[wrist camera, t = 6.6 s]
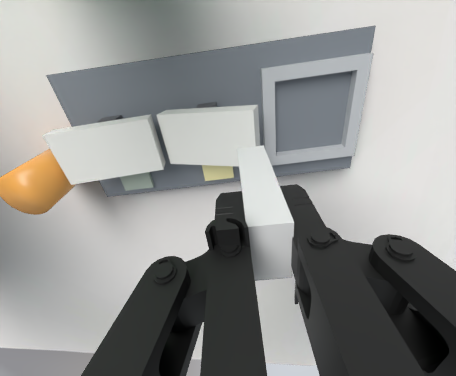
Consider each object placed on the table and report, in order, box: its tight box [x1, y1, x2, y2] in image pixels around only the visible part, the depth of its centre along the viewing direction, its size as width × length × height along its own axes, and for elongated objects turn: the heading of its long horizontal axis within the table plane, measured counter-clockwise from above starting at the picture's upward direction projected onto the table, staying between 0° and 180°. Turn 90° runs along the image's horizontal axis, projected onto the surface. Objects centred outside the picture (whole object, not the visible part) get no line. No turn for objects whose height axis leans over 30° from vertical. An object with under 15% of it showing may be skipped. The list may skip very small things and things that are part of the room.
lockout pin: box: [0, 149, 76, 214], centre depth 21 cm, size 4×4×7 cm
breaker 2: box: [157, 105, 260, 167], centre depth 18 cm, size 8×4×2 cm, turn 98°
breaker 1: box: [42, 114, 166, 185], centre depth 19 cm, size 8×4×2 cm, turn 97°
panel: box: [46, 26, 376, 197], centre depth 21 cm, size 26×12×3 cm, turn 97°
